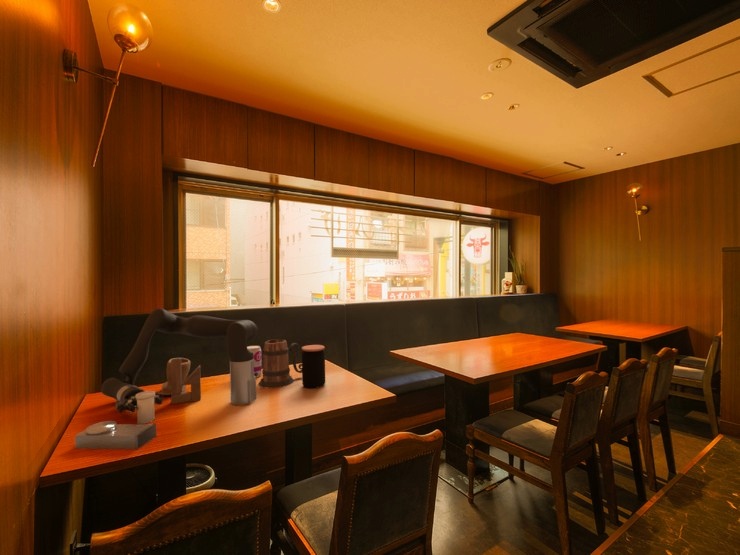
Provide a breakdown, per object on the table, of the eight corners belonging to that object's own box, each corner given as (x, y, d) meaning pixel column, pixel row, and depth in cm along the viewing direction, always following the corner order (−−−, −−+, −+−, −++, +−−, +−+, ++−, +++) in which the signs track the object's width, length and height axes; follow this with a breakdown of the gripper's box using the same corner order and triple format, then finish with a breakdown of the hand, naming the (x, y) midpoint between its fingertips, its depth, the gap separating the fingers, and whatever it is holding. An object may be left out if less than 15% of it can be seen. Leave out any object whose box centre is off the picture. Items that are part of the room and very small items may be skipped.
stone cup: (191, 394, 155) (190, 360, 155) (159, 399, 150) (158, 363, 150) (191, 384, 169) (190, 353, 168) (162, 389, 163) (161, 356, 163)
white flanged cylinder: (159, 417, 129) (159, 390, 129) (148, 424, 123) (147, 396, 123) (144, 417, 130) (143, 390, 130) (132, 424, 124) (131, 396, 124)
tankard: (265, 390, 159) (264, 346, 158) (253, 381, 172) (252, 340, 172) (312, 380, 173) (311, 339, 173) (297, 372, 186) (296, 335, 186)
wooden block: (200, 400, 147) (199, 357, 147) (171, 404, 143) (170, 360, 142) (201, 397, 150) (200, 355, 150) (172, 401, 146) (171, 358, 146)
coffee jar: (330, 384, 166) (329, 346, 166) (315, 390, 157) (314, 350, 157) (312, 380, 172) (312, 343, 172) (297, 386, 163) (296, 348, 163)
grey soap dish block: (156, 436, 114) (155, 420, 114) (137, 449, 106) (137, 432, 106) (97, 436, 115) (97, 420, 115) (74, 448, 107) (74, 431, 107)
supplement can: (265, 374, 184) (264, 346, 183) (253, 379, 176) (253, 349, 176) (253, 373, 187) (252, 345, 187) (241, 377, 179) (240, 348, 179)
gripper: (108, 391, 130) (124, 400, 120) (151, 382, 141) (168, 389, 131) (109, 411, 130) (124, 422, 120) (151, 400, 141) (169, 409, 131)
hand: (147, 405), depth 126 cm, fingers open, 8 cm apart
